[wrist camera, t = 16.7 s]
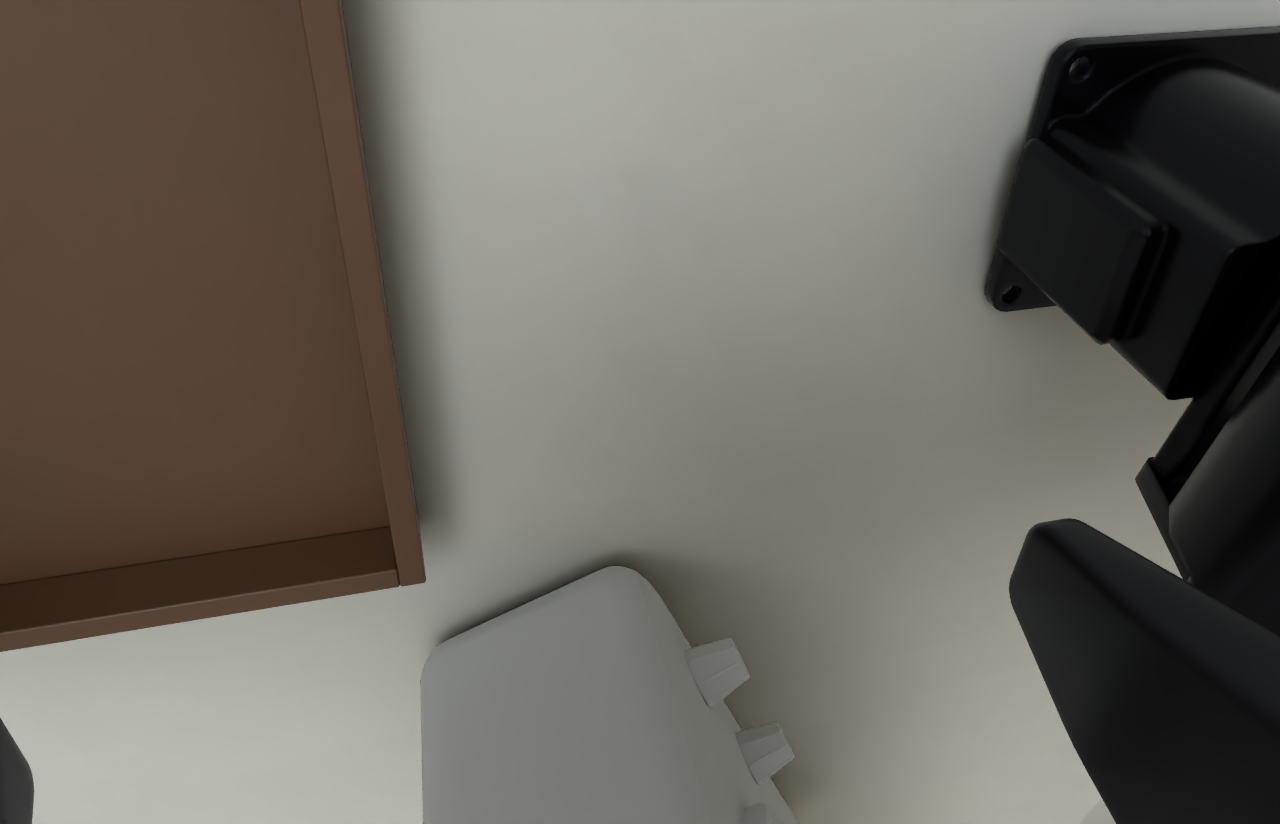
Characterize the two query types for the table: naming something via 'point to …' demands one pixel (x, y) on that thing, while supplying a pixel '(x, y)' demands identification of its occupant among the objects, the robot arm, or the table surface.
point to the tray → (189, 320)
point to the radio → (592, 718)
